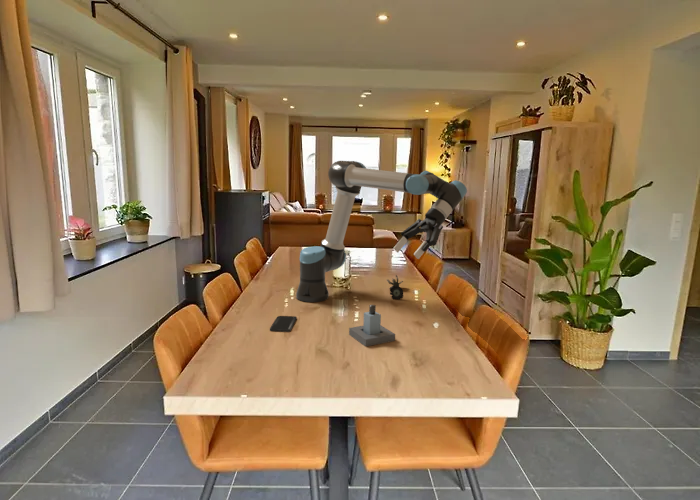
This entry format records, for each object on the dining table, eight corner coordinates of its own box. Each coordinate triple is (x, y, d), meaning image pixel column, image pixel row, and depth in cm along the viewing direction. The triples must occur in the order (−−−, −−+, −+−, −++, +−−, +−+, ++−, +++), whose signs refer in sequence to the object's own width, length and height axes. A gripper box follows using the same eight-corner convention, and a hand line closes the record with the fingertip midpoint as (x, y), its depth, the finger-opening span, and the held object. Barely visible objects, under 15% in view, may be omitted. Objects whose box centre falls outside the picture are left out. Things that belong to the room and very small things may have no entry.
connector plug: (363, 336, 153) (364, 304, 151) (373, 334, 155) (374, 302, 153) (369, 340, 149) (370, 308, 147) (379, 338, 151) (381, 306, 149)
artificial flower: (386, 302, 199) (381, 281, 199) (391, 294, 221) (387, 276, 221) (404, 298, 197) (400, 277, 197) (408, 291, 219) (403, 272, 219)
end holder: (349, 334, 155) (349, 328, 154) (377, 329, 160) (377, 323, 160) (365, 346, 144) (365, 339, 144) (394, 340, 150) (395, 333, 149)
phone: (297, 316, 171) (289, 329, 156) (297, 319, 171) (289, 332, 156) (277, 315, 171) (268, 329, 156) (277, 318, 171) (268, 332, 156)
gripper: (464, 223, 159) (431, 266, 155) (423, 216, 181) (392, 253, 177) (454, 209, 156) (420, 252, 152) (414, 204, 178) (382, 242, 173)
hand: (405, 253), depth 164 cm, fingers open, 13 cm apart
